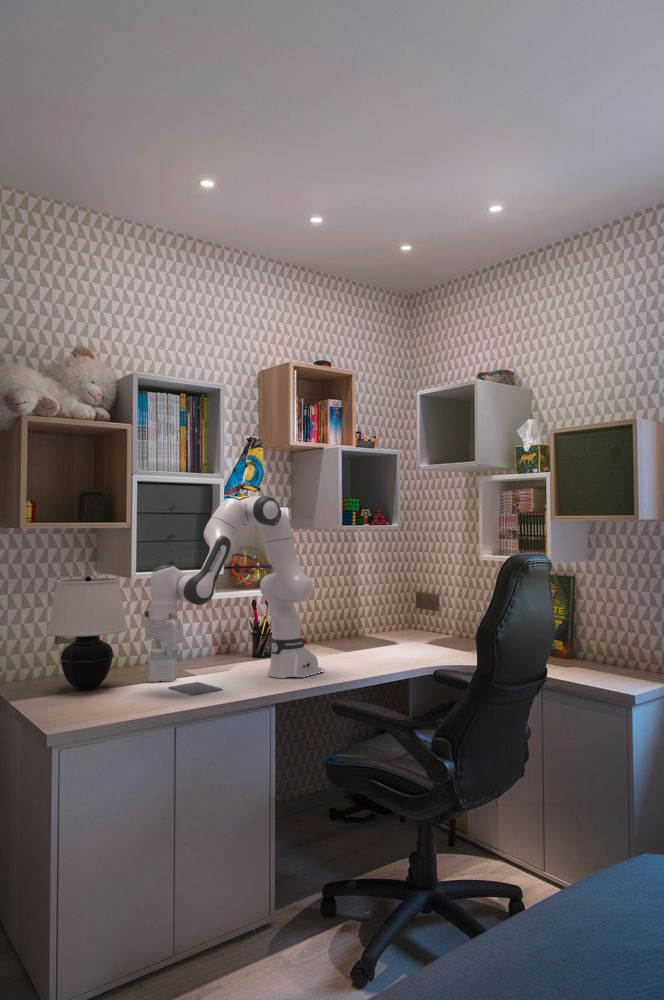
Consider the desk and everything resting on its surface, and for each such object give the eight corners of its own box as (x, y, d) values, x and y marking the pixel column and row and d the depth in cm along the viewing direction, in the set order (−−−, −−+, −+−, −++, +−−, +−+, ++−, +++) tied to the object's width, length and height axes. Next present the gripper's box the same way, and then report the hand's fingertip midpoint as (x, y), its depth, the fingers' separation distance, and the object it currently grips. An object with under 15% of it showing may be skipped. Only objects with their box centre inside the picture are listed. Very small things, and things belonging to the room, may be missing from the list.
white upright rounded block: (176, 679, 265) (176, 646, 266) (176, 681, 261) (176, 648, 261) (147, 680, 262) (147, 647, 263) (147, 683, 258) (147, 649, 259)
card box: (171, 656, 244) (171, 646, 244) (178, 658, 241) (177, 647, 241) (150, 659, 239) (150, 649, 239) (157, 661, 236) (156, 650, 236)
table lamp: (118, 678, 267) (119, 572, 268) (134, 692, 243) (135, 576, 245) (41, 686, 254) (43, 575, 256) (51, 702, 230) (52, 579, 232)
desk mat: (197, 683, 258) (197, 681, 258) (222, 690, 246) (222, 688, 246) (168, 688, 249) (168, 686, 249) (192, 695, 238) (192, 694, 238)
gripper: (188, 614, 235) (188, 656, 234) (157, 610, 250) (157, 649, 249) (171, 616, 231) (171, 659, 230) (141, 611, 246) (141, 651, 245)
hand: (164, 653), depth 240 cm, fingers closed on card box, 4 cm apart
